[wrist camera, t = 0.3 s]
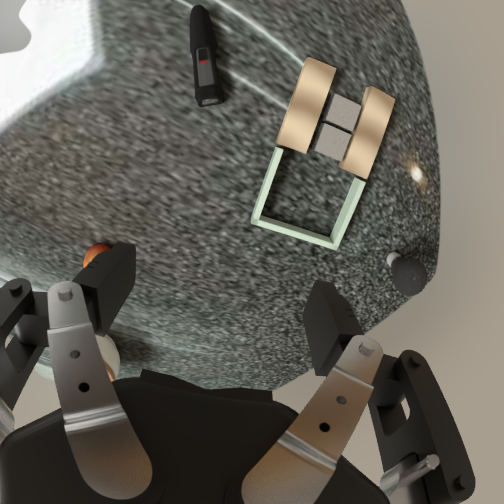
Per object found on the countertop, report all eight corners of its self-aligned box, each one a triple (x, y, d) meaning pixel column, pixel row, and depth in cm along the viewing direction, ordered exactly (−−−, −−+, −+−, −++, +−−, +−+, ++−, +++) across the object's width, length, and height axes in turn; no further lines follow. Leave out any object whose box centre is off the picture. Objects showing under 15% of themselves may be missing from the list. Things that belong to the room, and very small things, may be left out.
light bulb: (370, 258, 43) (396, 290, 34) (393, 234, 41) (424, 262, 32) (387, 276, 44) (413, 309, 35) (409, 254, 42) (439, 283, 33)
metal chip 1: (329, 95, 32) (335, 93, 30) (354, 107, 33) (361, 106, 30) (320, 120, 34) (325, 119, 32) (346, 131, 34) (352, 131, 32)
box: (275, 146, 35) (277, 147, 33) (359, 179, 37) (365, 182, 35) (250, 217, 40) (251, 223, 37) (331, 243, 41) (336, 250, 39)
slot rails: (305, 60, 30) (308, 56, 28) (389, 100, 32) (395, 99, 30) (275, 142, 35) (277, 143, 33) (361, 176, 37) (366, 179, 35)
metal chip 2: (319, 123, 34) (324, 123, 32) (345, 134, 35) (351, 134, 32) (310, 149, 36) (314, 150, 33) (335, 159, 36) (341, 161, 34)
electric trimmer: (214, 10, 26) (211, 1, 24) (225, 103, 33) (223, 100, 30) (188, 15, 27) (183, 7, 24) (197, 108, 33) (193, 105, 30)
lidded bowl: (101, 313, 47) (77, 350, 37) (138, 356, 52) (123, 395, 42) (68, 328, 49) (46, 361, 39) (103, 366, 54) (87, 400, 44)
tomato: (110, 235, 39) (103, 280, 36) (135, 252, 45) (130, 292, 42) (79, 242, 40) (71, 283, 38) (103, 257, 47) (98, 294, 44)
